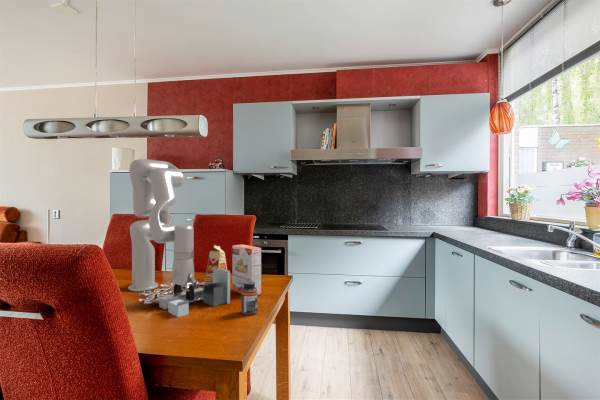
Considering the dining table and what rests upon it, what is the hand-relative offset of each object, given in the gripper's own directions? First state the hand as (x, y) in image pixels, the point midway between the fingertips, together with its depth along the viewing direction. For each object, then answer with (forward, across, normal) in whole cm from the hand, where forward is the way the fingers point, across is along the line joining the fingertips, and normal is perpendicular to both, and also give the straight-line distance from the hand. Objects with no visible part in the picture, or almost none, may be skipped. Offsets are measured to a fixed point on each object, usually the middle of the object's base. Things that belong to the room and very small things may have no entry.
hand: (183, 298), depth 127 cm
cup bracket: (+2, +10, +8) cm, 13 cm away
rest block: (+2, +10, -8) cm, 13 cm away
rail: (+2, 0, 0) cm, 2 cm away
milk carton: (+2, -11, +23) cm, 26 cm away
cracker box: (+2, +9, +25) cm, 27 cm away
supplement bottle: (+2, +29, +10) cm, 31 cm away
